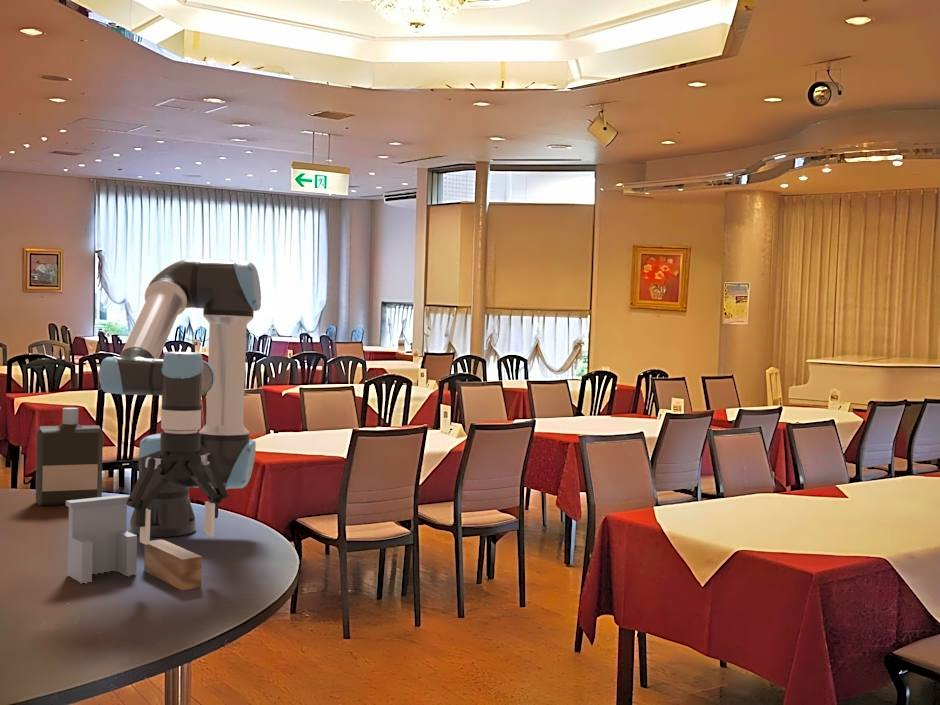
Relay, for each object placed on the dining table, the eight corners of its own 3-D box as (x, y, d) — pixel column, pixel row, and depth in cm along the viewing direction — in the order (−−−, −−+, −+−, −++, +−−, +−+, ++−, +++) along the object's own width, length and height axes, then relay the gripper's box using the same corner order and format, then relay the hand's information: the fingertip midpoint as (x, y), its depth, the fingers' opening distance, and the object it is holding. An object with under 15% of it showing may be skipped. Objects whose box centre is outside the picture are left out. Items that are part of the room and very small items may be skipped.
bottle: (35, 501, 268) (36, 406, 267) (99, 498, 275) (101, 406, 274) (36, 507, 261) (38, 410, 260) (102, 504, 268) (104, 409, 266)
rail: (161, 567, 209) (162, 539, 209) (201, 587, 197) (201, 556, 196) (143, 570, 206) (143, 541, 206) (181, 590, 194) (182, 559, 194)
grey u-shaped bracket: (122, 566, 209) (124, 494, 208) (138, 574, 203) (140, 500, 202) (64, 575, 200) (65, 500, 200) (78, 584, 195) (80, 507, 194)
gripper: (228, 426, 209) (225, 528, 210) (110, 431, 192) (107, 542, 193) (247, 430, 204) (243, 534, 205) (127, 436, 187) (124, 550, 188)
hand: (177, 539), depth 199 cm, fingers open, 13 cm apart
